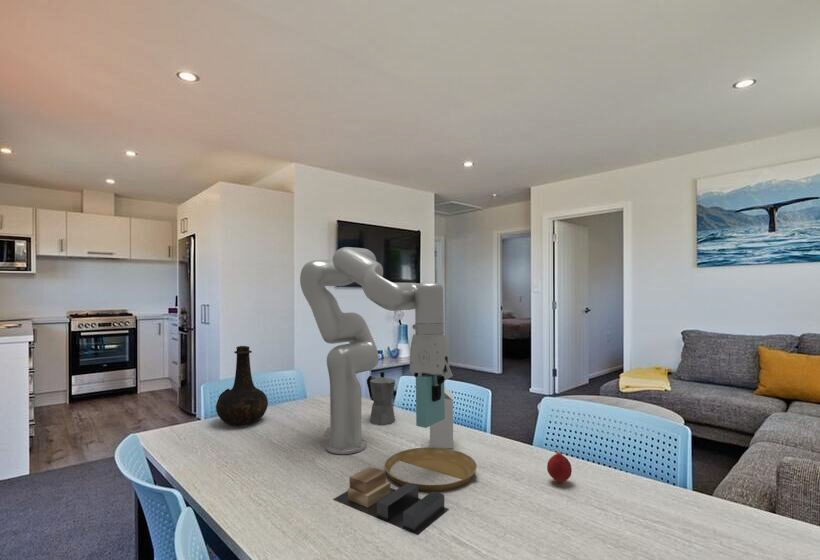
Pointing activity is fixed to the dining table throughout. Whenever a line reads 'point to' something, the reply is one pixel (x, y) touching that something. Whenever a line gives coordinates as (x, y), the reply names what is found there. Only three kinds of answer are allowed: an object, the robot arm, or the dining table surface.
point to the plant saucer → (435, 465)
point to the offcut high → (367, 479)
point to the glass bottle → (242, 395)
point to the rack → (403, 508)
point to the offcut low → (369, 495)
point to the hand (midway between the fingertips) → (430, 398)
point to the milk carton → (443, 425)
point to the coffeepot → (381, 399)
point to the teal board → (428, 402)
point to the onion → (559, 467)
